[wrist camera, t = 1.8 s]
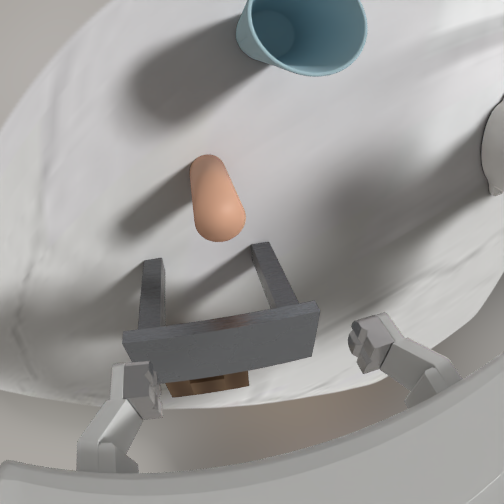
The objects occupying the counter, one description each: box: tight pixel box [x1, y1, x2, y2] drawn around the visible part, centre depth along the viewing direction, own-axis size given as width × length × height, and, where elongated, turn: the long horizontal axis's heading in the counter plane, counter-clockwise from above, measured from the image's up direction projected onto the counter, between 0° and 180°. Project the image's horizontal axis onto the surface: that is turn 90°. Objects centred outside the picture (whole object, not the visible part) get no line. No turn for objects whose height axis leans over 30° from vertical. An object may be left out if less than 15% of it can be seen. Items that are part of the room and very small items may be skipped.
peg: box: [190, 155, 246, 242], centre depth 24 cm, size 3×3×10 cm
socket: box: [165, 371, 249, 397], centre depth 41 cm, size 12×12×4 cm
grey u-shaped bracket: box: [122, 242, 320, 384], centre depth 28 cm, size 15×6×13 cm, turn 92°
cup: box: [236, 0, 367, 76], centre depth 17 cm, size 8×8×10 cm
